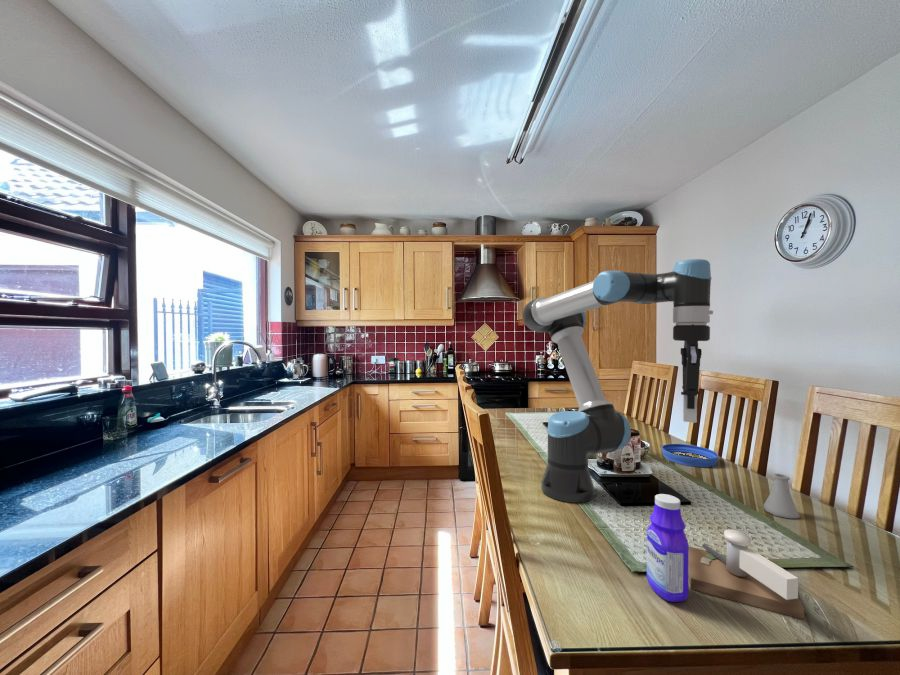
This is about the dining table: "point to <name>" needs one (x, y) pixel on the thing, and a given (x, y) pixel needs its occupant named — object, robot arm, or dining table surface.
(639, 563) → the dining table surface
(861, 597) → the dining table surface
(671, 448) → the bowl
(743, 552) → the peg
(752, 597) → the board
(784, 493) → the flask
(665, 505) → the bottle
